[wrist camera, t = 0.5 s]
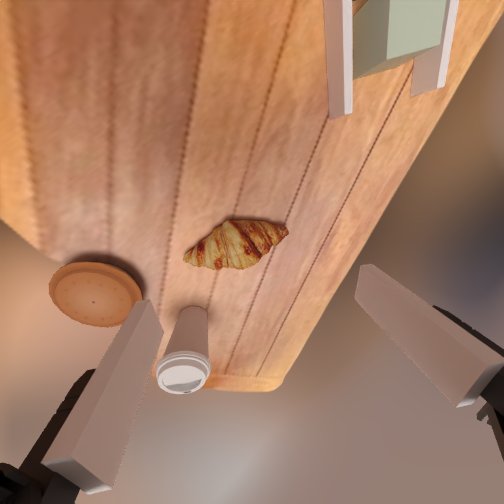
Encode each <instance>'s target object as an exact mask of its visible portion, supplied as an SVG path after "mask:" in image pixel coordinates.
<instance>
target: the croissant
mask: <svg viewBox="0 0 504 504" xmlns="http://www.w3.org/2000/svg"><path fill="white" fill-rule="evenodd" d="M288 234H289V232H288V230H287V228H286V227H284V226H282V225H278V226H276V225H272V224H271V223H268V222H266V221H250V220H239V221H230V220H228V221H225V222H224V223H223V224H222V225H221V226H219V227H217V228H215V229H213V232H212V233H211V234H210V236H209V237H207V238H205V239H204V240H202V241H200V242H199V244H198V245H197V246H196V247H195V248H193V249H191V250H190V251H189V252H188V253H186V254H185V256H184V258H183V261H185V262H186V263H190V264H192V265H193V266H197V267H201V266H204V267H207V268H210V269H213V270H215V269H216V270H220V269H221V268H222V267H225V268H229V267H230V268H236V269H242V270H243V269H245V268H248V267H250V266H252V265H254V264H256V263H257V262H259V260H260V259H261V257H262V256H263V255H265V254H267V253H268V252H269V251H270V248H271V246H272V245H273V246H274V245H277V244H279V243H280V242H281V240H282V239H283V238H284V237H285V236H287V235H288Z"/></svg>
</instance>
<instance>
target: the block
mask: <svg viewBox="0 0 504 504" xmlns="http://www.w3.org/2000/svg"><path fill="white" fill-rule="evenodd" d="M445 6H446V0H368V1H367V2H366V3H365V4H364V5H363V6H362V7H361V8H360V10H359V11H358V12H357V13H356V14H355V15H354V16H353V80H354V79H357V78H361V77H364V76H368V75H371V74H375V73H378V72H382V71H385V70H389V69H393V68H396V67H398V66H400V65H402V64H404V63H405V62H407V61H409V60H411V59H413V58H415V57H417V56H419V55H421V54H423V53H425V52H427V51H429V50H430V49H432V48H434V47H436V46H438V45H440V39H441V33H442V26H443V19H444V13H445Z"/></svg>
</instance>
